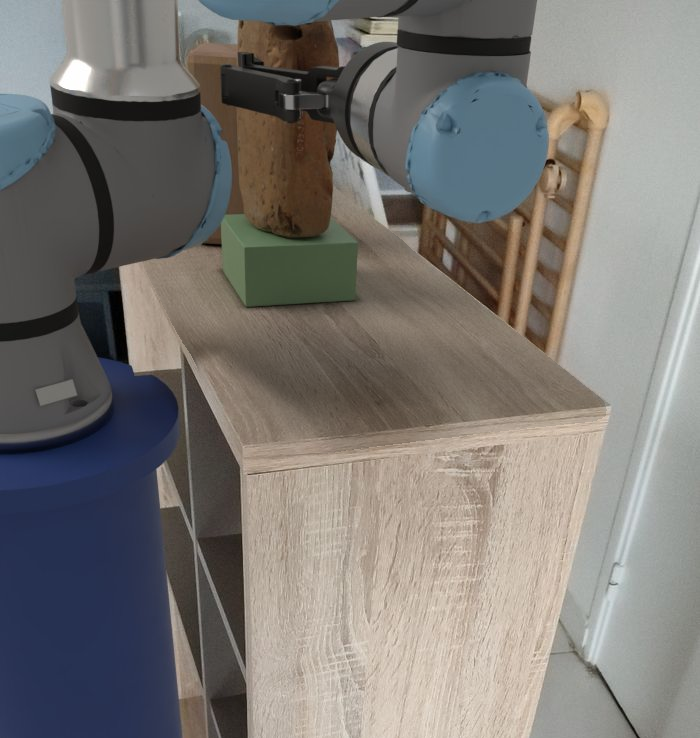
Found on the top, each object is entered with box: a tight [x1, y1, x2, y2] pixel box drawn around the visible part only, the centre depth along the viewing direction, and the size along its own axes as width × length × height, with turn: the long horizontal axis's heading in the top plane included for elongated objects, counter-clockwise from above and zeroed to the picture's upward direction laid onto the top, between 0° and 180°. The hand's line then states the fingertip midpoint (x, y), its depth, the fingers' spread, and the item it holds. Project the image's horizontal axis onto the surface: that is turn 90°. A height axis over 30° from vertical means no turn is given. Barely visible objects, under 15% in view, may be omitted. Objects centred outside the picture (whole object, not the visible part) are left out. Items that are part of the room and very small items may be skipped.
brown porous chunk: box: [236, 20, 340, 238], centre depth 89 cm, size 11×8×20 cm
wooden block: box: [185, 42, 244, 246], centre depth 106 cm, size 10×10×20 cm
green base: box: [221, 214, 359, 308], centre depth 97 cm, size 12×12×6 cm
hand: (315, 70), depth 77 cm, fingers open, 12 cm apart
